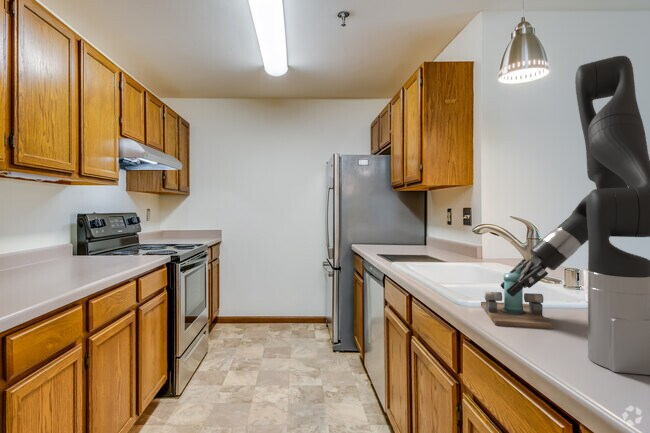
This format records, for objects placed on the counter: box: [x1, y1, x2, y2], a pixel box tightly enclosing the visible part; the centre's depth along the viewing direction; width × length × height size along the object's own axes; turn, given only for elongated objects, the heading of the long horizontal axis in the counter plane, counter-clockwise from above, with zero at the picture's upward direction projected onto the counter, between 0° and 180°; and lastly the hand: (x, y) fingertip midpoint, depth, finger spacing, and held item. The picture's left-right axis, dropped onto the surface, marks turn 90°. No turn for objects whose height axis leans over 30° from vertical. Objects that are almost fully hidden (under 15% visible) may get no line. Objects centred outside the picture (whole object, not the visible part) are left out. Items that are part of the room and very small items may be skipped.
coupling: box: [503, 272, 524, 313], centre depth 94 cm, size 5×5×10 cm
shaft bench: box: [480, 291, 554, 330], centre depth 93 cm, size 18×14×6 cm
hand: (506, 290), depth 94 cm, fingers open, 5 cm apart
